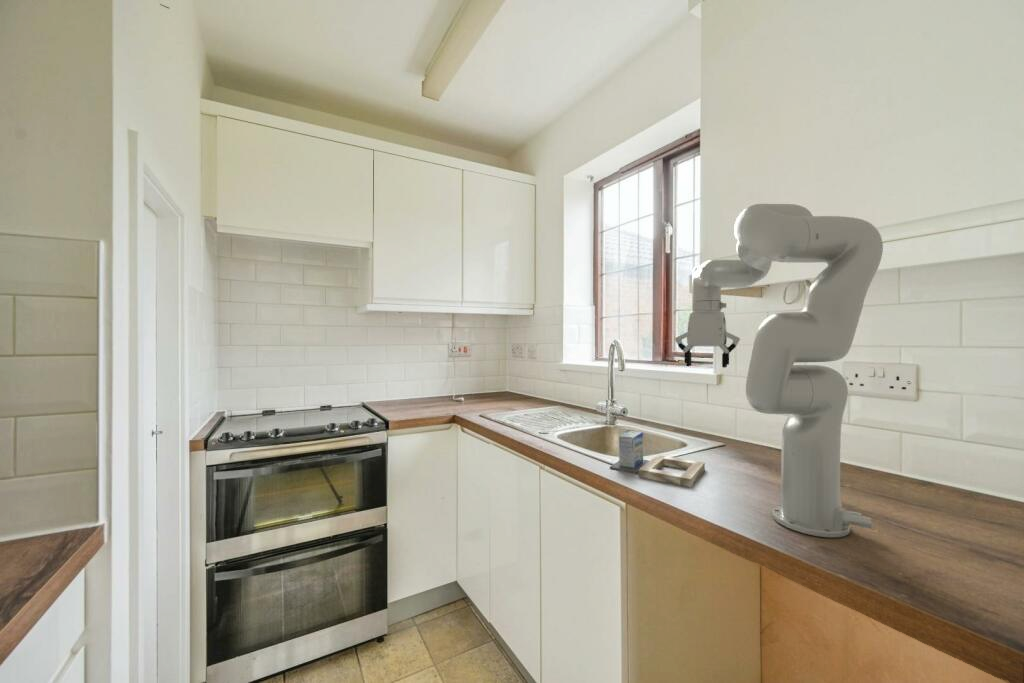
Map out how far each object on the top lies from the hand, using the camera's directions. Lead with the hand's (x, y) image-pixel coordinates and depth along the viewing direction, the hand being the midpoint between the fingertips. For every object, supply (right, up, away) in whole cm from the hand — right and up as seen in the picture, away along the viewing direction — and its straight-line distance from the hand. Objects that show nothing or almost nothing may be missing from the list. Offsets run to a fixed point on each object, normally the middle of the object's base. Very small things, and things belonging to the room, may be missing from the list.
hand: (706, 366), depth 122 cm
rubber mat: (-22, -29, -2) cm, 36 cm away
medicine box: (-22, -28, -2) cm, 36 cm away
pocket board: (-13, -29, -8) cm, 32 cm away
